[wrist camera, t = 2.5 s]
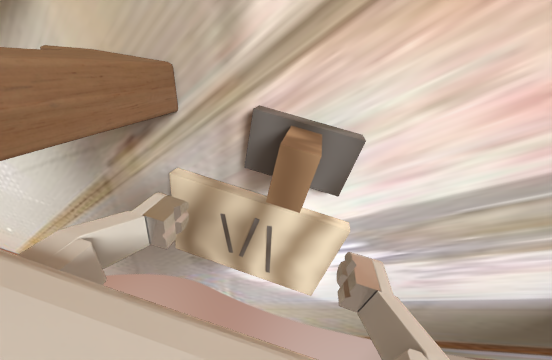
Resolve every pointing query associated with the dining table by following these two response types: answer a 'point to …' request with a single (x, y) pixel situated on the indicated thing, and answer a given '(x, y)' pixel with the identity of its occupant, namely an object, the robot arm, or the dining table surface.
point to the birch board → (256, 232)
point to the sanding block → (300, 155)
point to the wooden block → (76, 95)
